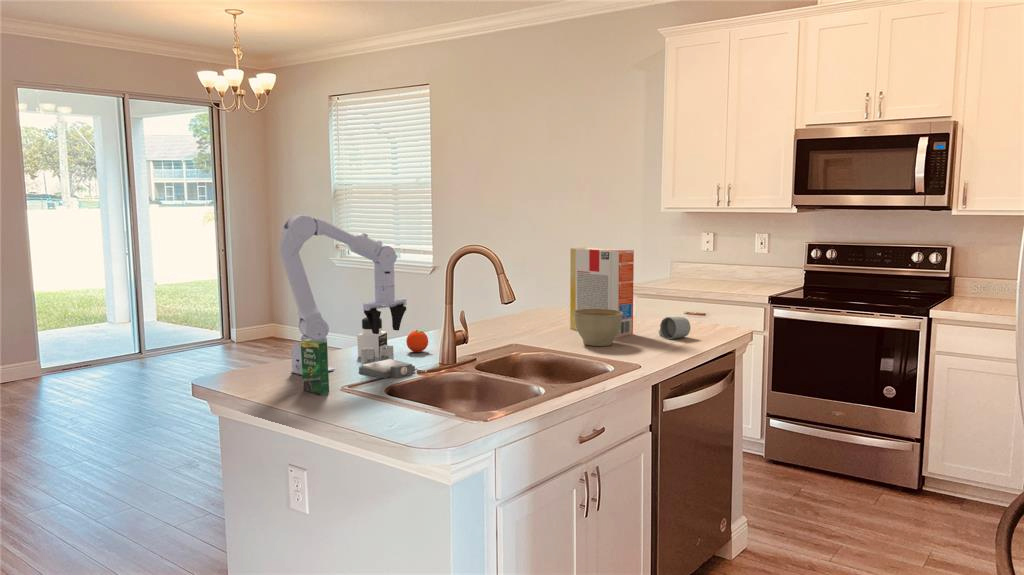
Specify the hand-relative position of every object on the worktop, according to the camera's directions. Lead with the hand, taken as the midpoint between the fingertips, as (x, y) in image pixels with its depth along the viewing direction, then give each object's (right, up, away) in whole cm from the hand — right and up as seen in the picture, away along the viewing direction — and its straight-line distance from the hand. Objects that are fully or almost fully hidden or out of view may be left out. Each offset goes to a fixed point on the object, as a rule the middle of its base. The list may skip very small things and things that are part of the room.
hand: (386, 331), depth 220 cm
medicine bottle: (-6, -8, +12) cm, 16 cm away
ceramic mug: (+93, -5, +39) cm, 101 cm away
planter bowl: (+66, -6, +28) cm, 72 cm away
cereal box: (+70, -3, +51) cm, 86 cm away
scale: (+3, -11, -11) cm, 16 cm away
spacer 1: (-5, -10, -3) cm, 11 cm away
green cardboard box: (-12, -13, -32) cm, 37 cm away
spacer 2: (0, -9, +1) cm, 9 cm away
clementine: (+8, -8, +17) cm, 20 cm away
